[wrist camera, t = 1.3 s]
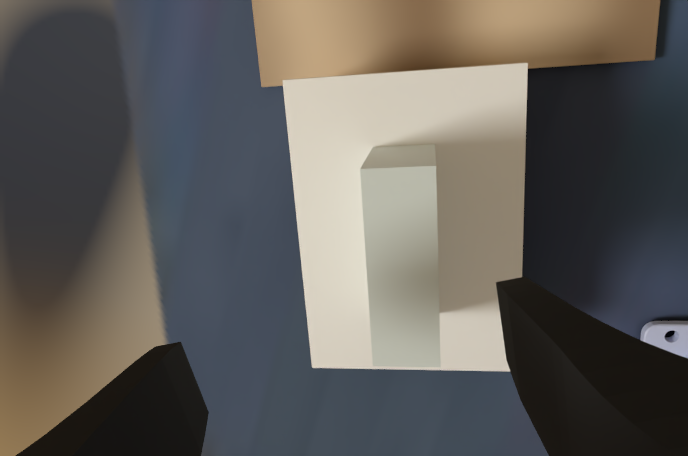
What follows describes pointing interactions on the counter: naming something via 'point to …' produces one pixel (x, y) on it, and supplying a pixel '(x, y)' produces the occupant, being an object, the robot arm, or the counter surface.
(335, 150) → the lid
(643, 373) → the robot arm
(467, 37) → the mat
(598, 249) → the counter surface
